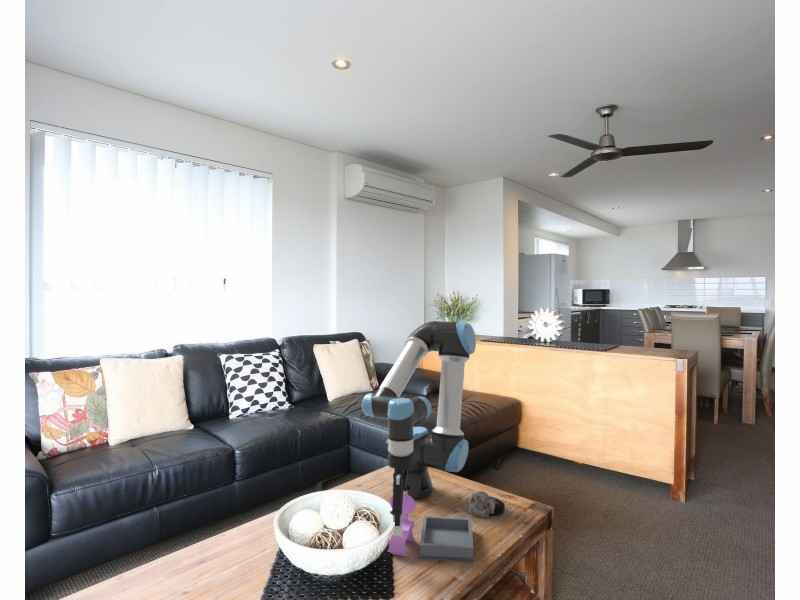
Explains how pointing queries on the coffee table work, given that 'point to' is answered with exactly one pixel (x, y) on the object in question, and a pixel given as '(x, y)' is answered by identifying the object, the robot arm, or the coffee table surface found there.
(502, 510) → the grey brown rock
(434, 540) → the tray
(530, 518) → the coffee table surface
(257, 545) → the coffee table surface
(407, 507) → the toy chair
